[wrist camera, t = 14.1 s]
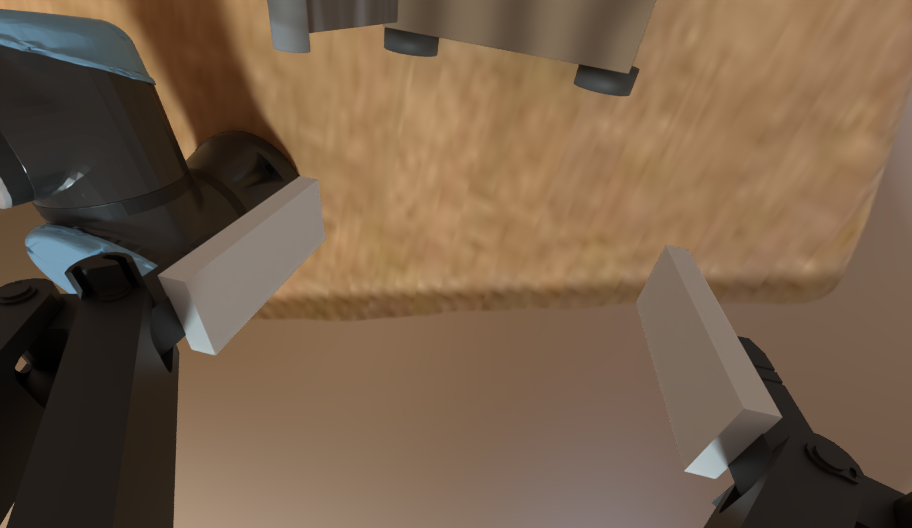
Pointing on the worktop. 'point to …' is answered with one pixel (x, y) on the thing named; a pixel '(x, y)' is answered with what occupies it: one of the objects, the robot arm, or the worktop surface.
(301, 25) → the trolley
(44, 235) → the robot arm
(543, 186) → the worktop surface
